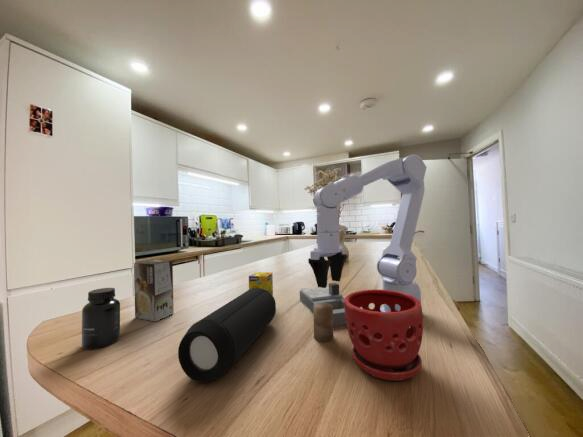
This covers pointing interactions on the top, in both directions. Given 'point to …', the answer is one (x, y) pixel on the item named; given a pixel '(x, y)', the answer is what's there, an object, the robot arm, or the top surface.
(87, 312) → the supplement bottle
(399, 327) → the plant pot
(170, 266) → the coffee box
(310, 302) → the socket plate
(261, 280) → the supplement box
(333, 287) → the sliding lid
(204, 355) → the portable speaker
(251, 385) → the top surface
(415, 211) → the robot arm
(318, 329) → the walnut peg
